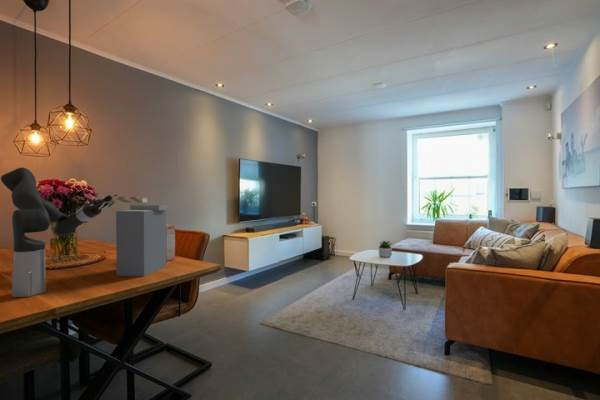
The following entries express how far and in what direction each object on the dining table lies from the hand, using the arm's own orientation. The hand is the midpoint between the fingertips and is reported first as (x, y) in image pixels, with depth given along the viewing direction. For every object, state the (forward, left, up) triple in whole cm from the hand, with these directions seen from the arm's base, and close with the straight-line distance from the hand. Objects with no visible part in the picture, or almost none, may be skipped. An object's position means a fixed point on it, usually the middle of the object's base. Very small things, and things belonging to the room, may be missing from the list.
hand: (114, 196), depth 159 cm
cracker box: (+19, -19, -38) cm, 47 cm away
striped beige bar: (-1, -6, -3) cm, 7 cm away
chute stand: (-8, -18, -38) cm, 43 cm away
